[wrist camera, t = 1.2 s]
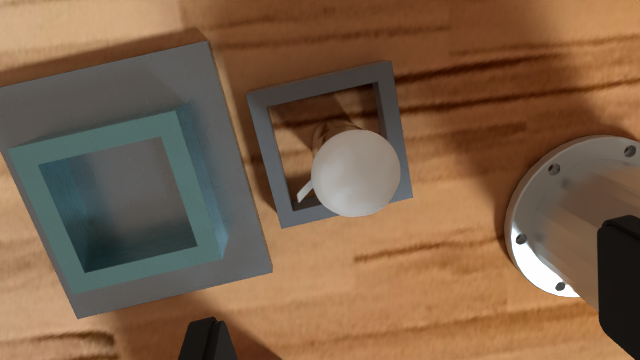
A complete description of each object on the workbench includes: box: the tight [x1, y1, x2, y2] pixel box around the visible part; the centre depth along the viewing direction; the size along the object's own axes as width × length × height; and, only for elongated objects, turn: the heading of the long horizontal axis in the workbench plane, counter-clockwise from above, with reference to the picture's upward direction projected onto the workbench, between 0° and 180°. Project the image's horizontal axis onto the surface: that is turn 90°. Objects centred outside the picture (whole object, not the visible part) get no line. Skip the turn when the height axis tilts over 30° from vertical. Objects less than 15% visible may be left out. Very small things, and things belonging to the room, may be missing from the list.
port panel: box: [0, 41, 273, 319], centre depth 28 cm, size 14×16×4 cm
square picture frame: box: [246, 60, 413, 229], centre depth 29 cm, size 9×9×2 cm
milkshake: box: [297, 117, 401, 217], centre depth 25 cm, size 4×5×10 cm
